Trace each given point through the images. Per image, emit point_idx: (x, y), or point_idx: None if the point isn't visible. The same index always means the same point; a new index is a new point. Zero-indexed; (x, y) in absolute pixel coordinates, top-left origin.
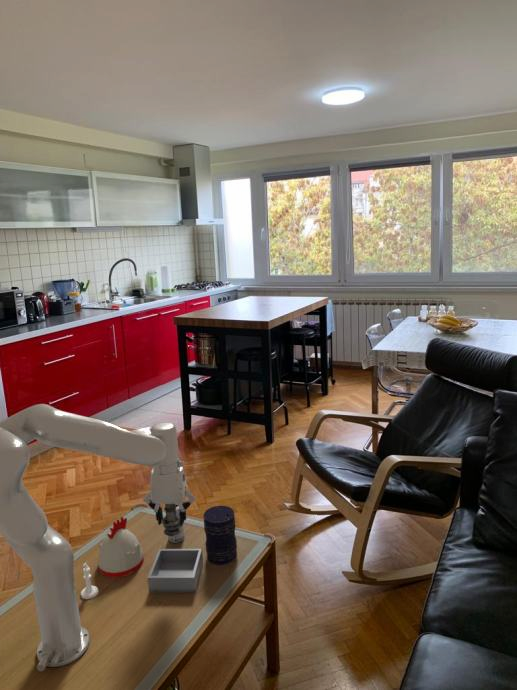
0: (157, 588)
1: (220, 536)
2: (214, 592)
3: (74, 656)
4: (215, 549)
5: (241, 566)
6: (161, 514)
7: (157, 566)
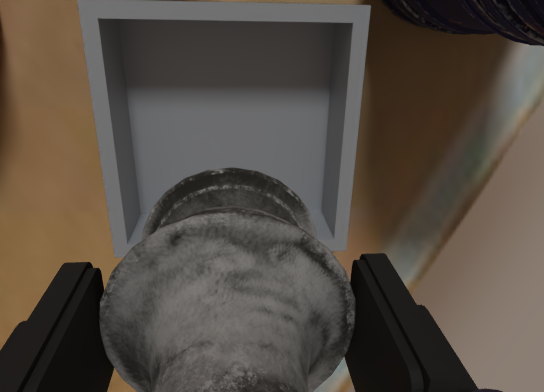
0: None
1: None
2: (405, 210)
3: None
4: (460, 30)
5: None
6: (76, 388)
7: (120, 117)
